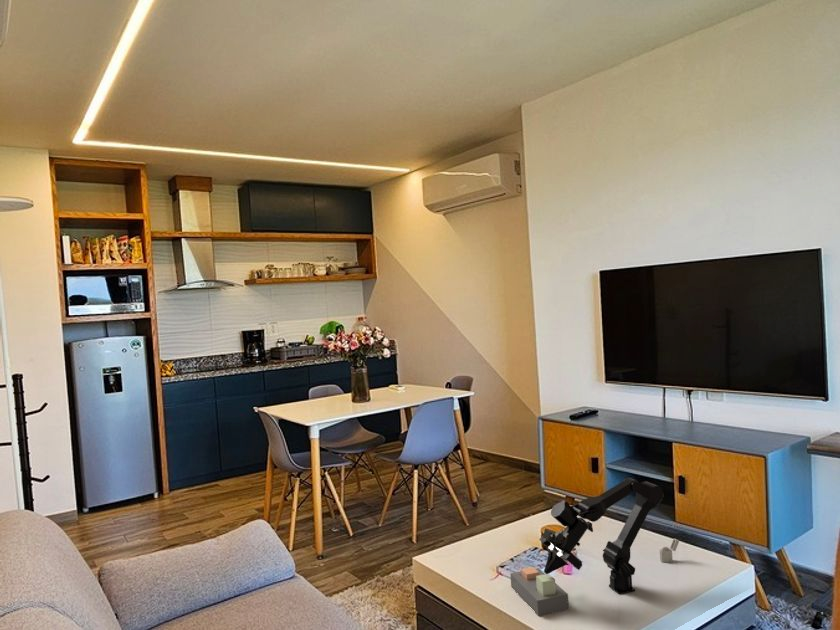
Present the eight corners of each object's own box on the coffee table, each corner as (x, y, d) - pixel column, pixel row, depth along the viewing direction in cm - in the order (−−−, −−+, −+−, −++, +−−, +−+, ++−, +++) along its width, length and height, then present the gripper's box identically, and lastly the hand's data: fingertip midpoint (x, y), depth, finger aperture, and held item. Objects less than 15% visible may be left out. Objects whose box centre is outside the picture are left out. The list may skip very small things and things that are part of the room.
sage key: (549, 589, 200) (548, 573, 200) (556, 596, 195) (555, 579, 195) (536, 592, 199) (536, 576, 199) (543, 598, 194) (542, 581, 194)
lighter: (662, 562, 224) (661, 541, 224) (660, 560, 225) (658, 539, 225) (680, 560, 224) (679, 539, 224) (677, 558, 226) (676, 537, 226)
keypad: (539, 581, 214) (538, 568, 214) (568, 609, 194) (568, 594, 194) (511, 587, 212) (510, 573, 211) (538, 616, 191) (537, 600, 191)
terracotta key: (533, 582, 211) (532, 566, 211) (539, 587, 207) (538, 572, 207) (521, 584, 210) (521, 569, 210) (527, 590, 206) (526, 574, 206)
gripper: (542, 511, 207) (515, 548, 204) (571, 529, 189) (542, 570, 186) (564, 529, 210) (537, 567, 207) (594, 549, 192) (566, 590, 189)
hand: (545, 572), depth 197 cm, fingers closed
